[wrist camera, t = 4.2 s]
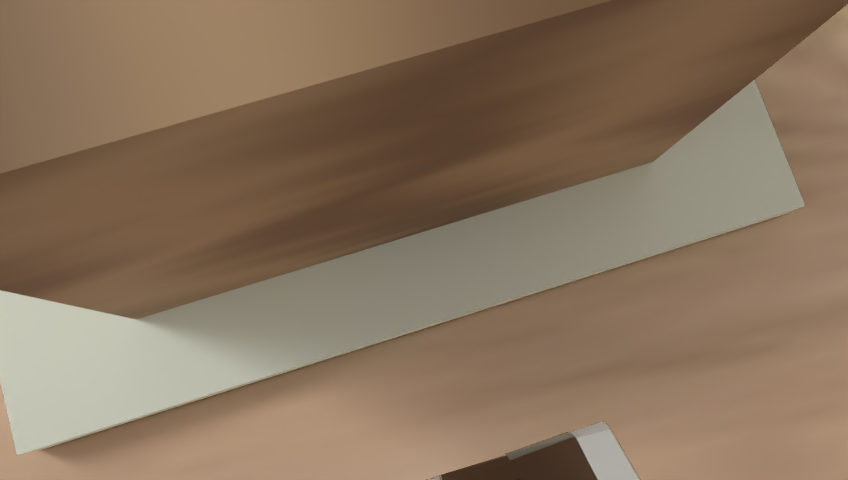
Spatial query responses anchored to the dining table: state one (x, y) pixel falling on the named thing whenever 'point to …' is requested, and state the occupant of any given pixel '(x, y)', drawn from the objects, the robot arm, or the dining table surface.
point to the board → (384, 285)
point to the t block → (329, 124)
